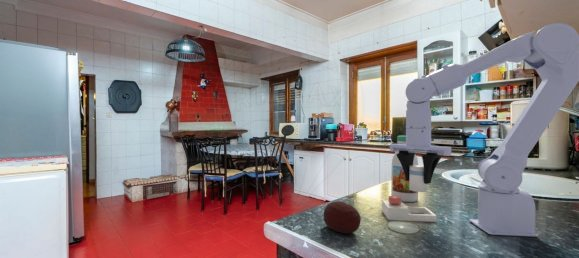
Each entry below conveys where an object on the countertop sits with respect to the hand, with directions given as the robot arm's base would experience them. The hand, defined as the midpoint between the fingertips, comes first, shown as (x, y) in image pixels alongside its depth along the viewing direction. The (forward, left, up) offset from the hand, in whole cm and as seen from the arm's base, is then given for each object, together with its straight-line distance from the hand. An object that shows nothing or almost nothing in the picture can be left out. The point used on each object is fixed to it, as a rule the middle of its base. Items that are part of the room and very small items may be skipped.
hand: (418, 181), depth 66 cm
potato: (+20, +11, -9) cm, 25 cm away
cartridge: (0, 0, -2) cm, 2 cm away
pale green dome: (+6, +8, -9) cm, 13 cm away
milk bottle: (-2, -16, -9) cm, 18 cm away
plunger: (+6, 0, -8) cm, 10 cm away
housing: (+2, 0, -9) cm, 9 cm away
